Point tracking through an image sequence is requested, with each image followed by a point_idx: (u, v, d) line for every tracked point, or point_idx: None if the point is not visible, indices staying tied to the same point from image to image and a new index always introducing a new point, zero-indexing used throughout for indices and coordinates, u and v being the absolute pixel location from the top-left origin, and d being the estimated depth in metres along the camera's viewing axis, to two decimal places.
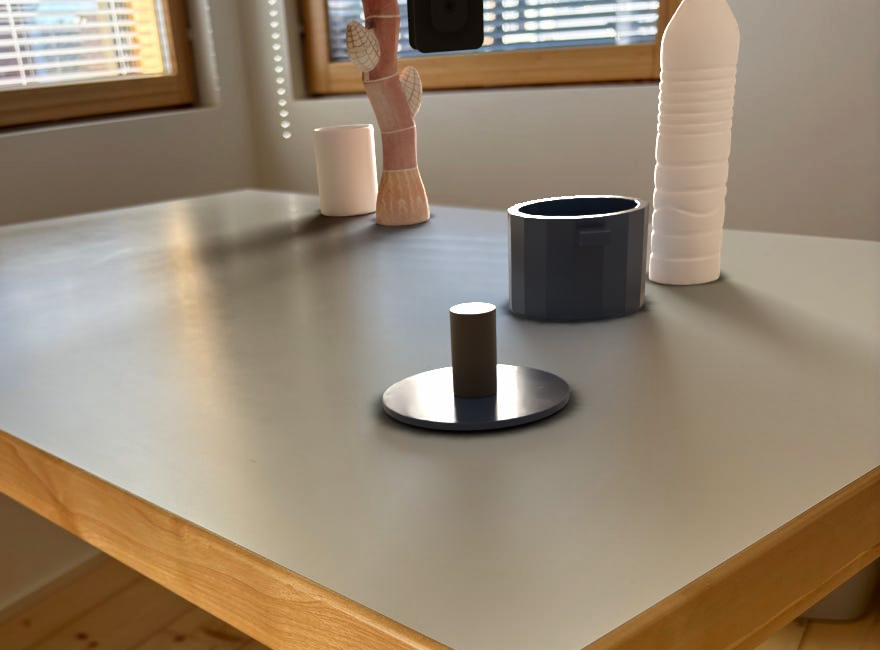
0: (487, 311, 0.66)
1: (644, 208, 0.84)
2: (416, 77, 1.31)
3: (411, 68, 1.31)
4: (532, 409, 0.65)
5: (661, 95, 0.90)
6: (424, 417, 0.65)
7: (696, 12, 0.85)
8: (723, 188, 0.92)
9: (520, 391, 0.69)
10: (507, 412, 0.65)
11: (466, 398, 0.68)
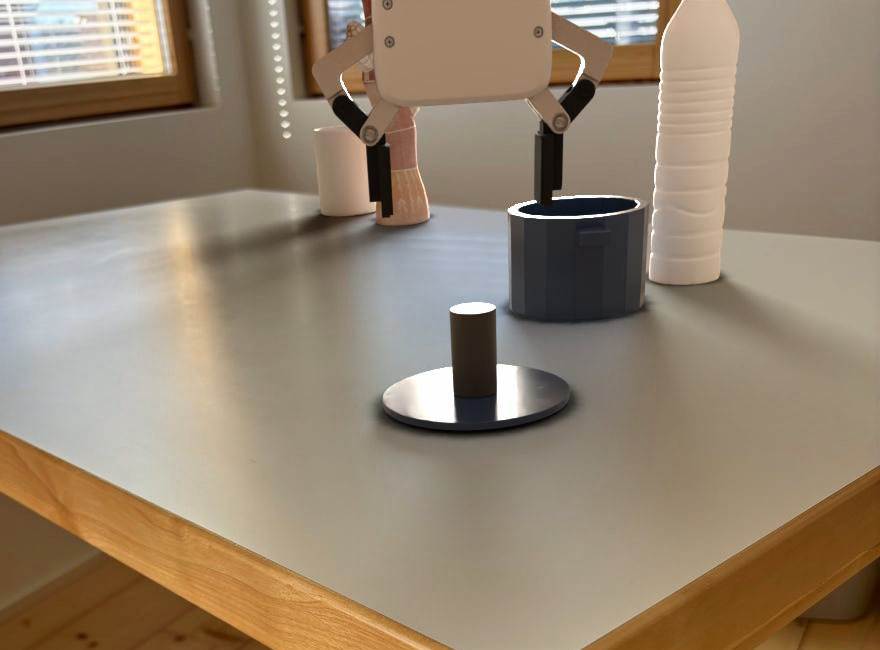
0: (487, 311, 0.66)
1: (644, 208, 0.84)
2: None
3: None
4: (532, 409, 0.65)
5: (661, 95, 0.90)
6: (424, 417, 0.65)
7: (695, 12, 0.85)
8: (723, 188, 0.92)
9: (520, 391, 0.69)
10: (507, 412, 0.65)
11: (466, 398, 0.68)
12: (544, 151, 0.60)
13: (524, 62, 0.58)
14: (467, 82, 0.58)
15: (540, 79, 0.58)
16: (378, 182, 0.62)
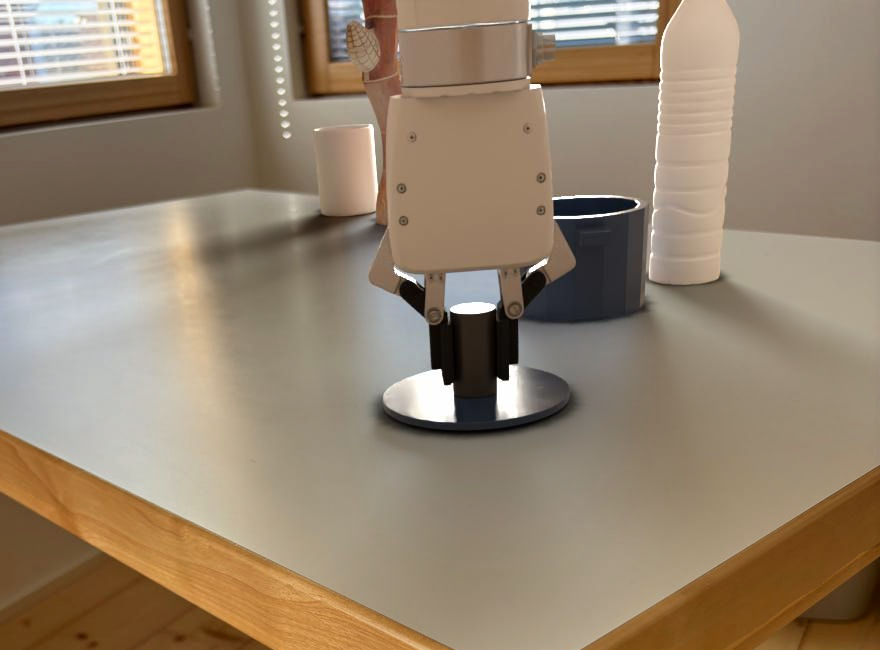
0: (487, 311, 0.66)
1: (644, 208, 0.84)
2: None
3: None
4: (532, 409, 0.65)
5: (661, 95, 0.90)
6: (424, 417, 0.65)
7: (695, 12, 0.85)
8: (723, 188, 0.92)
9: (520, 391, 0.69)
10: (507, 412, 0.65)
11: (466, 398, 0.68)
12: (500, 334, 0.66)
13: (528, 236, 0.62)
14: (475, 254, 0.63)
15: (543, 250, 0.63)
16: (440, 354, 0.67)
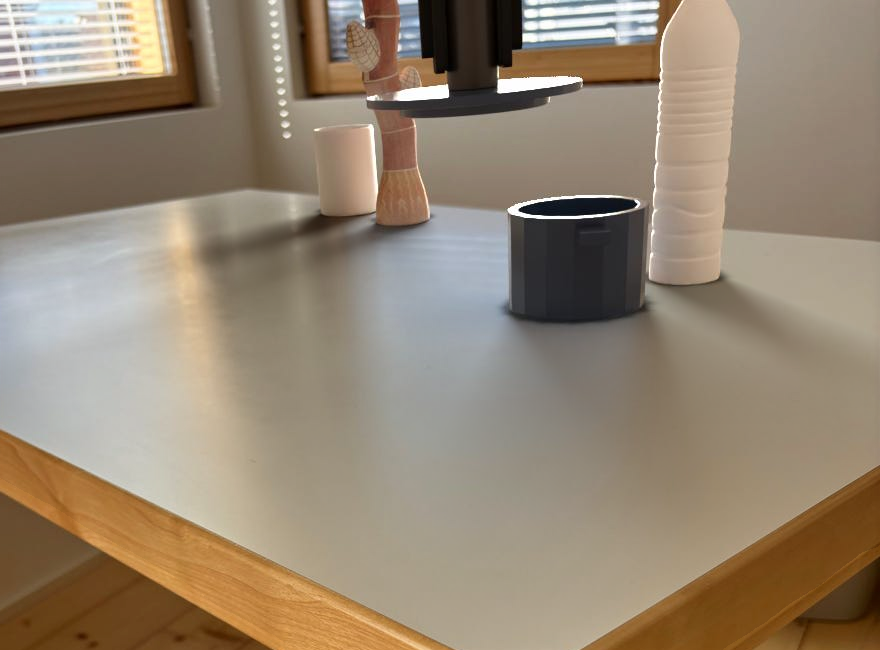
0: None
1: (644, 208, 0.84)
2: (416, 77, 1.31)
3: (411, 68, 1.31)
4: (539, 86, 0.56)
5: (661, 95, 0.90)
6: (413, 99, 0.56)
7: (695, 12, 0.85)
8: (723, 188, 0.92)
9: (525, 84, 0.60)
10: (510, 90, 0.56)
11: (463, 90, 0.59)
12: (501, 3, 0.57)
13: None
14: None
15: None
16: (431, 34, 0.58)
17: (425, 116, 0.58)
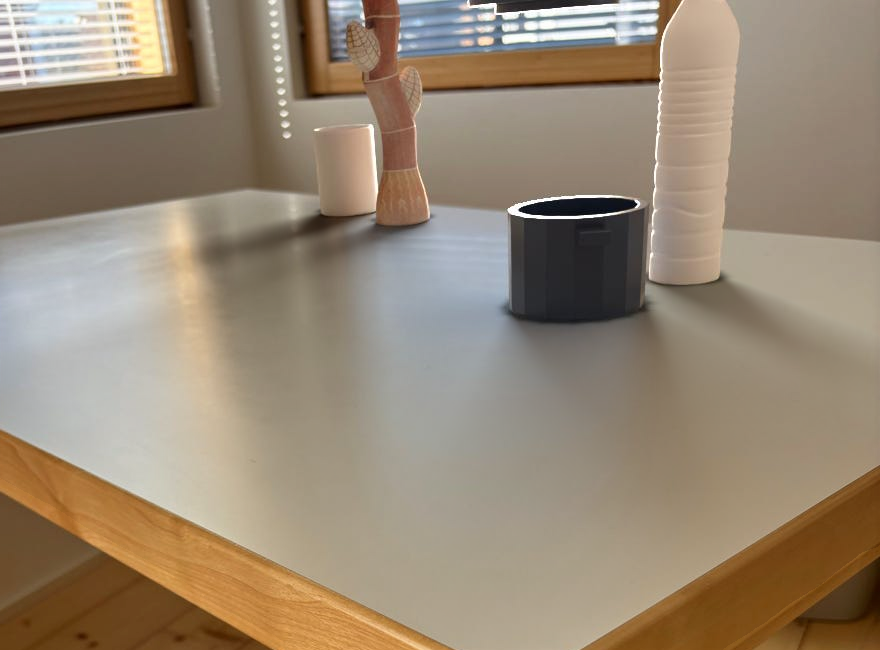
0: None
1: (644, 208, 0.84)
2: (416, 77, 1.31)
3: (411, 68, 1.31)
4: None
5: (661, 95, 0.90)
6: None
7: (695, 12, 0.85)
8: (723, 188, 0.92)
9: None
10: None
11: None
12: None
13: None
14: None
15: None
16: None
17: (521, 10, 0.71)
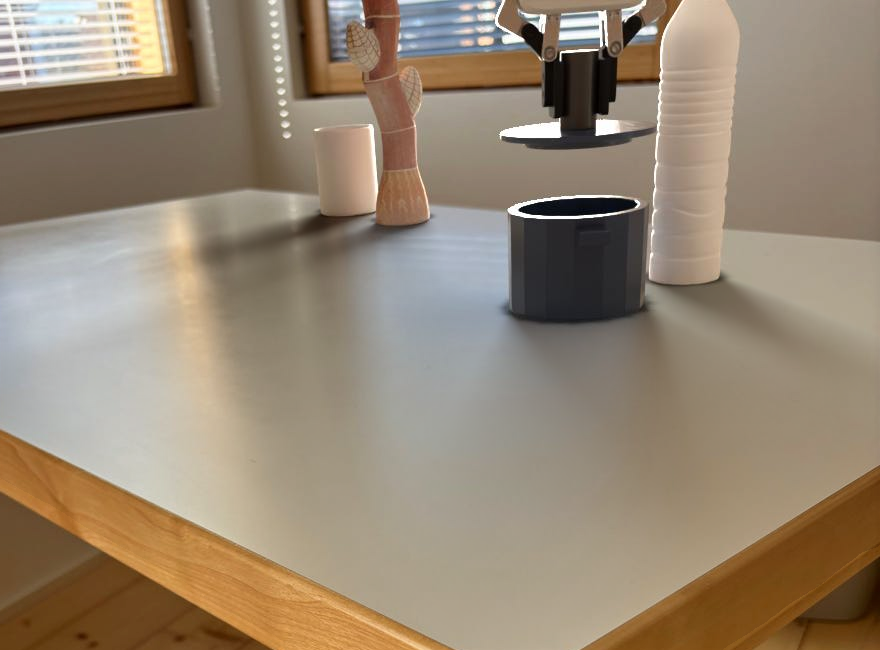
0: (593, 50, 0.80)
1: (644, 208, 0.84)
2: (416, 77, 1.31)
3: (411, 68, 1.31)
4: (629, 130, 0.80)
5: (661, 95, 0.90)
6: (541, 136, 0.80)
7: (695, 12, 0.85)
8: (723, 188, 0.92)
9: (616, 126, 0.83)
10: (609, 132, 0.80)
11: (572, 130, 0.83)
12: (603, 70, 0.80)
13: None
14: None
15: None
16: (552, 91, 0.82)
17: (546, 148, 0.82)
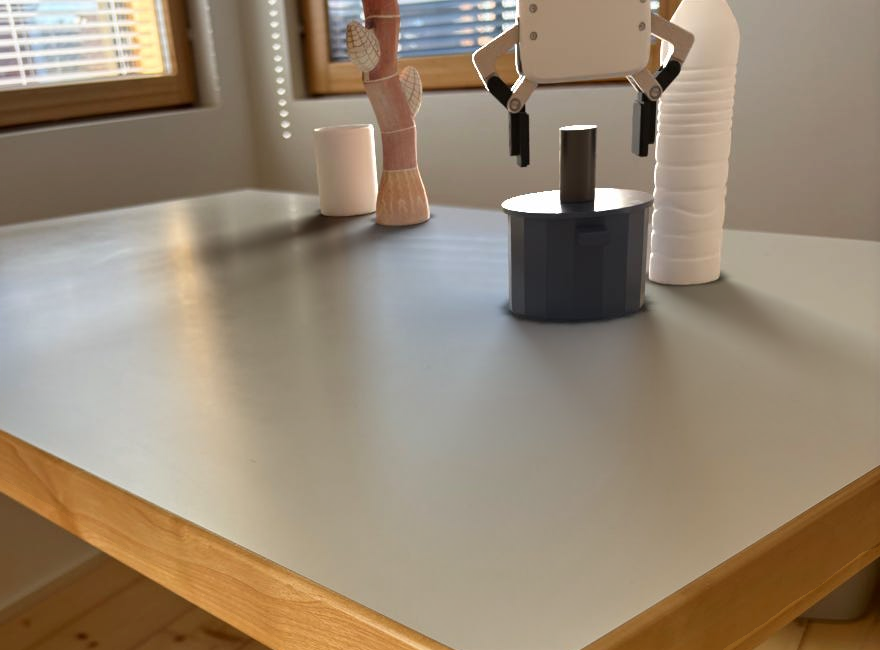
0: (591, 128, 0.83)
1: None
2: (416, 77, 1.31)
3: (411, 68, 1.31)
4: (627, 205, 0.83)
5: None
6: (541, 211, 0.83)
7: (695, 12, 0.85)
8: (723, 188, 0.92)
9: (614, 198, 0.86)
10: (607, 207, 0.83)
11: (572, 203, 0.85)
12: (643, 114, 0.82)
13: (630, 48, 0.79)
14: (589, 64, 0.80)
15: (642, 61, 0.80)
16: (518, 140, 0.83)
17: None
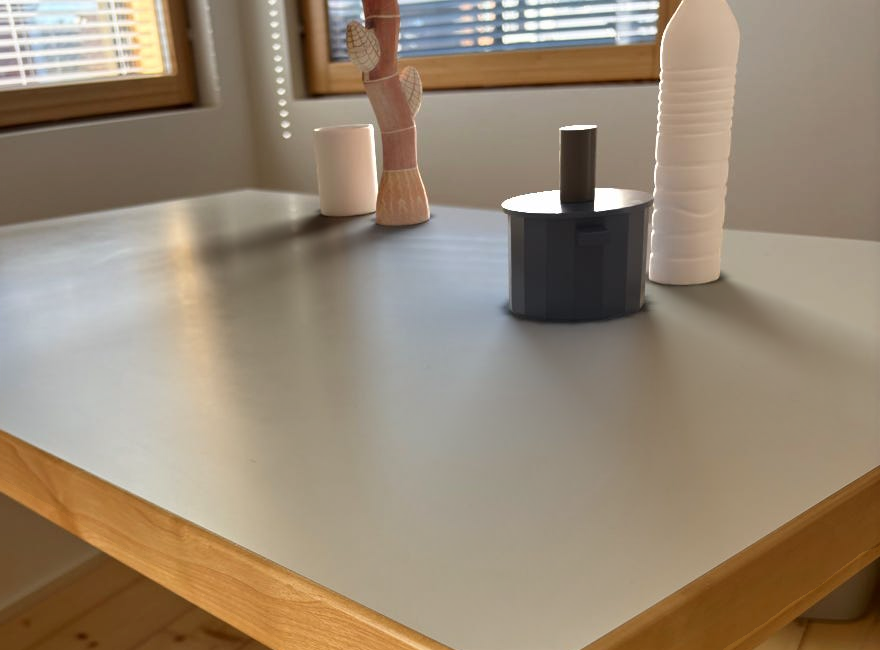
0: (591, 128, 0.83)
1: None
2: (416, 77, 1.31)
3: (411, 68, 1.31)
4: (627, 205, 0.83)
5: (661, 95, 0.90)
6: (541, 211, 0.83)
7: (695, 12, 0.85)
8: (723, 188, 0.92)
9: (614, 198, 0.86)
10: (607, 207, 0.83)
11: (572, 203, 0.85)
12: None
13: None
14: None
15: None
16: None
17: None
